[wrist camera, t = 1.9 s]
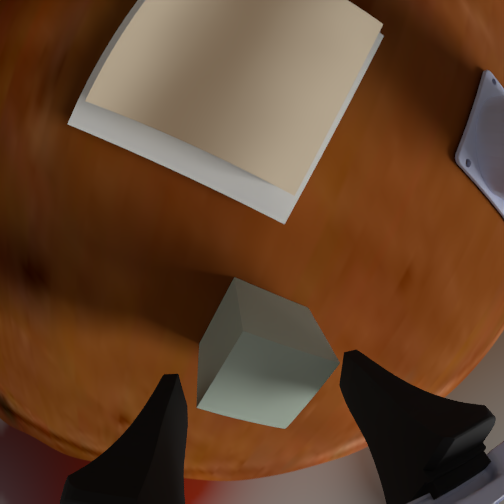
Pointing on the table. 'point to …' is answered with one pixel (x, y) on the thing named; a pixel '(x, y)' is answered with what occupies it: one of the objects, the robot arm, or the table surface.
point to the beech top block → (240, 77)
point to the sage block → (261, 357)
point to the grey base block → (188, 156)
